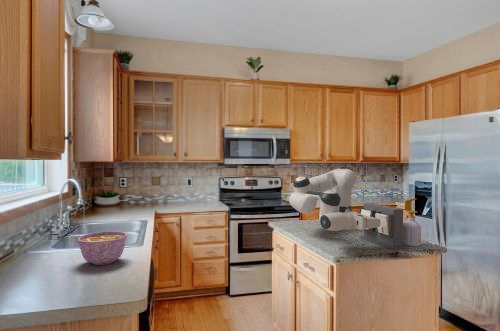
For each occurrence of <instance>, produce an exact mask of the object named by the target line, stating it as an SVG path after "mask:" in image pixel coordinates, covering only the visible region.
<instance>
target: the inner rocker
mask: <svg viewBox="0 0 500 331" xmlns="http://www.w3.org/2000/svg"><path fill="white" fill-rule="evenodd" d="M361 214H362V215H366V216H369V217H371V211H368V210H364V209H362V210H361ZM366 229H368V230H370V228H366Z"/></svg>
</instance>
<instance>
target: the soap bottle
mask: <svg viewBox="0 0 500 331" xmlns="http://www.w3.org/2000/svg"><path fill="white" fill-rule="evenodd" d="M416 200H417V198H408V199H406V200H404V211H405V212H408V214H409V215H408V216H407V220H406V221H403V245H406V246H408V247H420V246H421V245H422V226H421V224H420V223H419V222H417V221H416V216H415V213H418V211H416V210H413V209H412V201H416Z"/></svg>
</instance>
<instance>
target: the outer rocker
mask: <svg viewBox="0 0 500 331" xmlns="http://www.w3.org/2000/svg"><path fill="white" fill-rule="evenodd" d="M375 217H376V218H378V219H380V227H377V229H378V232H380V233H383V234H386V235H389V219H388V215H383V214H379V213H376V214H375Z"/></svg>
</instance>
